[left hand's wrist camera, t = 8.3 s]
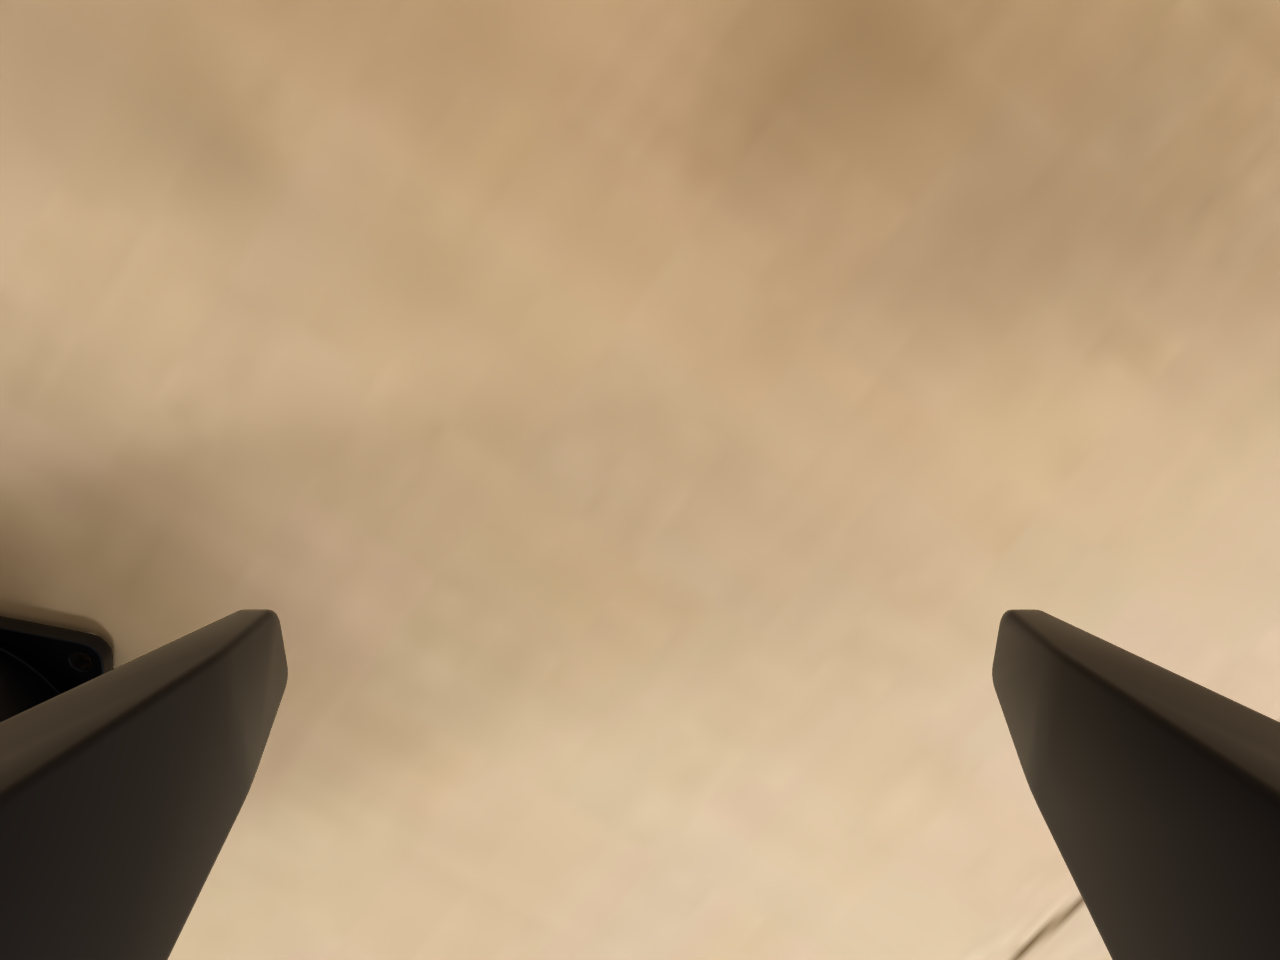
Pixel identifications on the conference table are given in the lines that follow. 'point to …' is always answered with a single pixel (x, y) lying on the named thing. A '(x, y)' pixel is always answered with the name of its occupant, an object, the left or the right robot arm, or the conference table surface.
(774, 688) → the conference table surface
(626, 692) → the conference table surface
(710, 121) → the conference table surface
